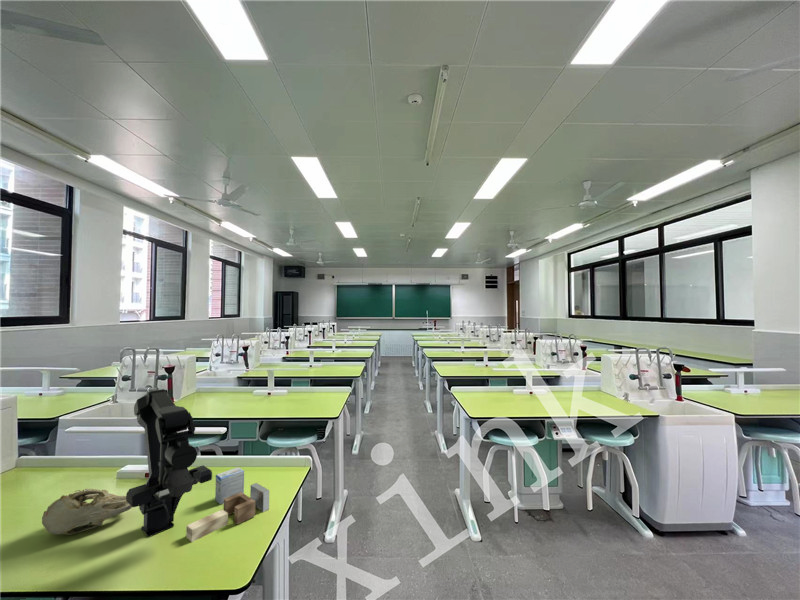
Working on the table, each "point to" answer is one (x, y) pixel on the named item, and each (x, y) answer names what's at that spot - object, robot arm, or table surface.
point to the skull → (82, 511)
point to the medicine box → (229, 484)
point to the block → (206, 525)
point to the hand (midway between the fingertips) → (170, 516)
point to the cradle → (240, 507)
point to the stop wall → (260, 496)
